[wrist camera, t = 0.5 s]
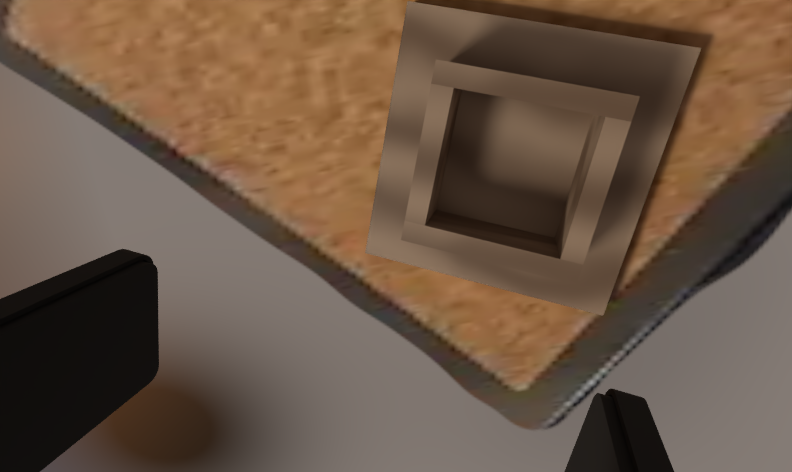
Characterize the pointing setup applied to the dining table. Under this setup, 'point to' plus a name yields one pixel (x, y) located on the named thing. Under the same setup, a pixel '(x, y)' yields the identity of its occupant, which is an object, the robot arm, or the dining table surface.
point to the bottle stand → (522, 150)
